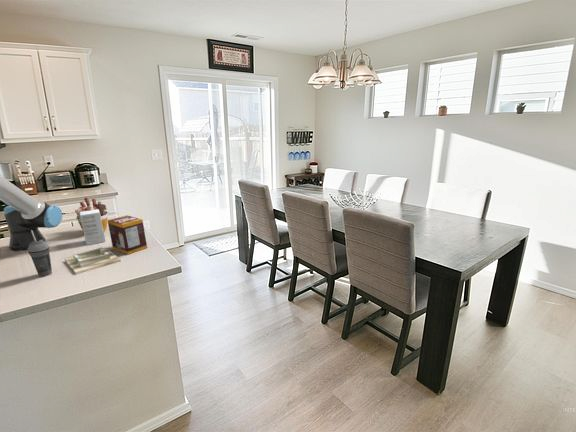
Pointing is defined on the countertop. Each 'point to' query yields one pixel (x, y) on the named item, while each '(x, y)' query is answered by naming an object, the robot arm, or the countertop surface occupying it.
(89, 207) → the bucket of meat
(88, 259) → the cup holder
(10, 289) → the countertop surface
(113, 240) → the supplement box
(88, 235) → the supplement box
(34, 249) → the beverage cup
